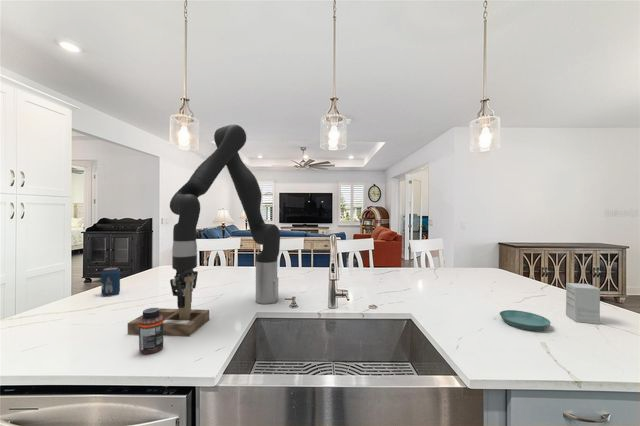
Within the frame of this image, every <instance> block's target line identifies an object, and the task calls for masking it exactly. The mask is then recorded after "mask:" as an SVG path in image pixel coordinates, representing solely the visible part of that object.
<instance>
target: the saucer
mask: <svg viewBox="0 0 640 426" xmlns="http://www.w3.org/2000/svg"><path fill="white" fill-rule="evenodd" d="M498 313H499V316H500V317H501V319H503V321H504V322H505V323H507V324H508V325H510V326H512V327H513V328H514V327H515V328H518V329H522V330H524V331H525V330H526V331H542V330H544V329H546V328H547V327H549V326H550V324H551V321H550V319H549V318H546V317H544V316H542V315H540V314H537V313H533V312H528V311H522V310H516V309H515V310H514V309H513V310H512V309H507V310H505V309H504V310H502V311H500V312H498Z"/></svg>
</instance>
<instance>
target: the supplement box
mask: <svg viewBox="0 0 640 426" xmlns="http://www.w3.org/2000/svg"><path fill="white" fill-rule="evenodd" d="M600 305H601V289H600V288H599V287H596V286H594V285H592V284H589V283H578V282H576V283H575V282H566V283H565V315H566V316H567V317H568V318H569V319H570V320H572V321H573V322H576V323H583V324H584V323H586V324H595V325H600V324H601V322H600V321H601V318H600V317H601V306H600Z"/></svg>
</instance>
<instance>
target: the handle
mask: <svg viewBox="0 0 640 426" xmlns="http://www.w3.org/2000/svg"><path fill="white" fill-rule="evenodd" d="M175 276H176V275H174V278H173V279H175V278H176V277H175ZM194 279H195V275H192V276H189V277H185V278H184V282H185V281H187V282H188V287H187V289H186V291H185V307H183V308H178V307H177V309H178V311H179V316H180V317H179V320H187V321H188V320H190V313H191V309H192V302H191V292H190V282H191V281H193V280H194ZM181 286H184V285H181ZM181 290H182V289H181Z"/></svg>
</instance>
